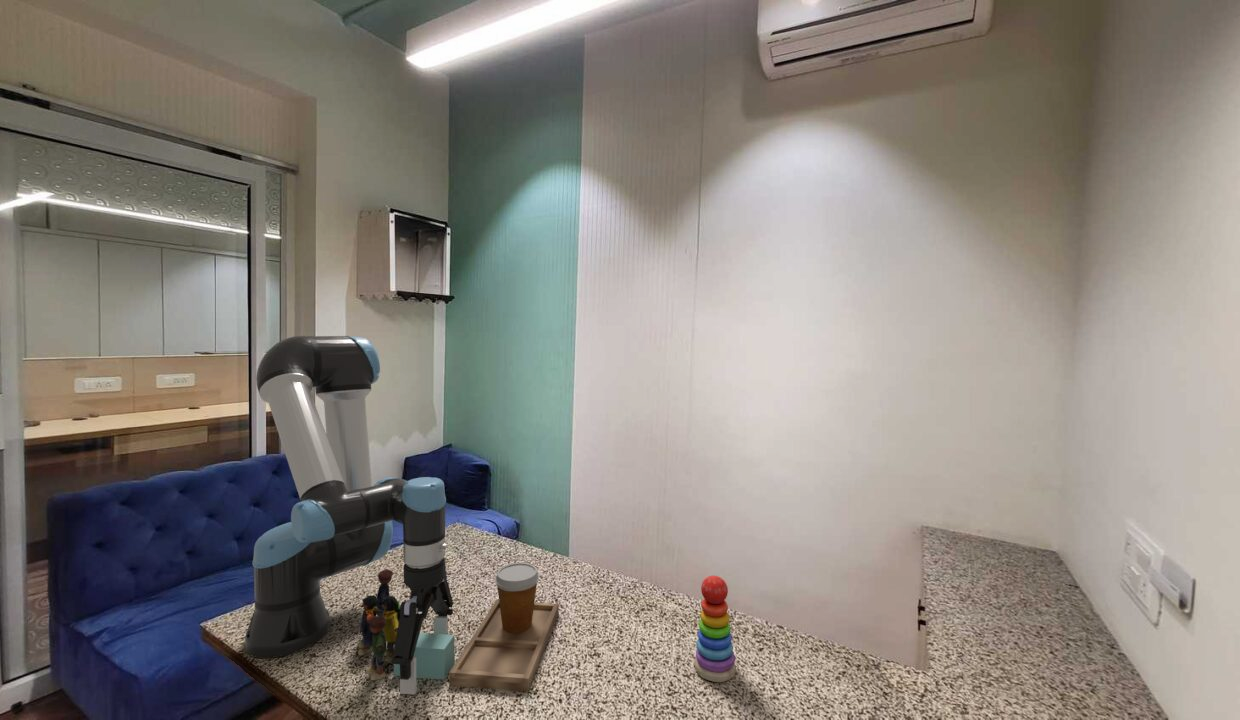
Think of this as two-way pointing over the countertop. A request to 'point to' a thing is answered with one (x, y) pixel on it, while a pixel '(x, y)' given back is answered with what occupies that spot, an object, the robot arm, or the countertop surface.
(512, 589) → the disposable coffee cup
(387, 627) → the doll family
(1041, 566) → the countertop surface
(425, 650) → the teal rectangular block
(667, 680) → the countertop surface
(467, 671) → the divided compartment tray
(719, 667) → the stacking toy
